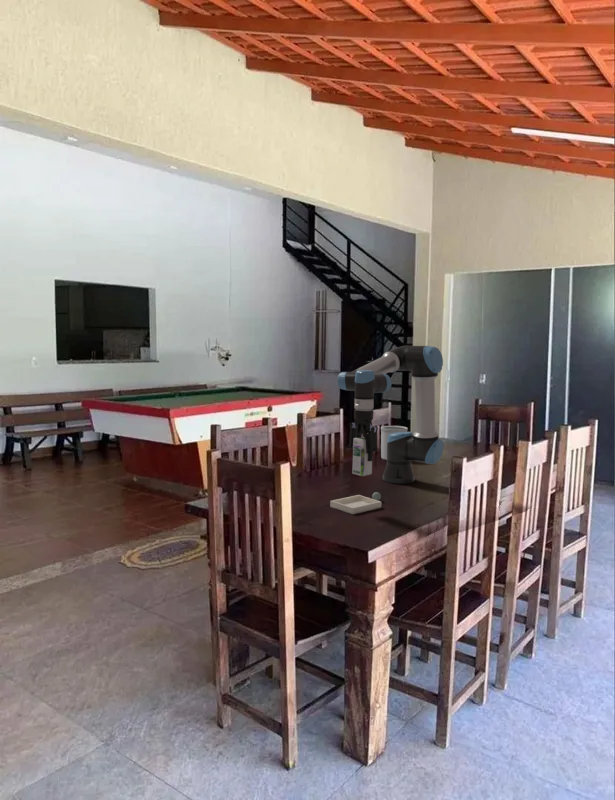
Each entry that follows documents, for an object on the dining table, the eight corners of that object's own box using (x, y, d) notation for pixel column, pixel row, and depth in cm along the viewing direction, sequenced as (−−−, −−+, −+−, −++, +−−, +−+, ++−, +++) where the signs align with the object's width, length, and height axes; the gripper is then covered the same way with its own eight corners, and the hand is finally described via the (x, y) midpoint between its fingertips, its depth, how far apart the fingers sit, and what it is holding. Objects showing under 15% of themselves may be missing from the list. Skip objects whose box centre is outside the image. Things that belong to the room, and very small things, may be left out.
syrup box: (351, 473, 248) (352, 437, 247) (362, 471, 252) (362, 436, 251) (362, 476, 244) (363, 439, 242) (372, 474, 248) (373, 438, 246)
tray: (358, 500, 262) (358, 494, 262) (381, 507, 252) (381, 501, 252) (330, 506, 252) (330, 500, 251) (352, 514, 242) (352, 508, 242)
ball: (376, 499, 265) (376, 490, 265) (382, 500, 262) (382, 492, 262) (370, 500, 263) (370, 492, 262) (376, 502, 260) (376, 493, 259)
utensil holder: (375, 456, 356) (376, 425, 354) (399, 455, 360) (400, 425, 358) (386, 461, 342) (387, 429, 340) (411, 460, 346) (412, 429, 344)
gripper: (340, 407, 250) (339, 464, 253) (374, 412, 236) (372, 473, 238) (354, 406, 255) (352, 462, 257) (388, 411, 240) (386, 470, 243)
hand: (362, 467), depth 248 cm, fingers closed on syrup box, 6 cm apart
